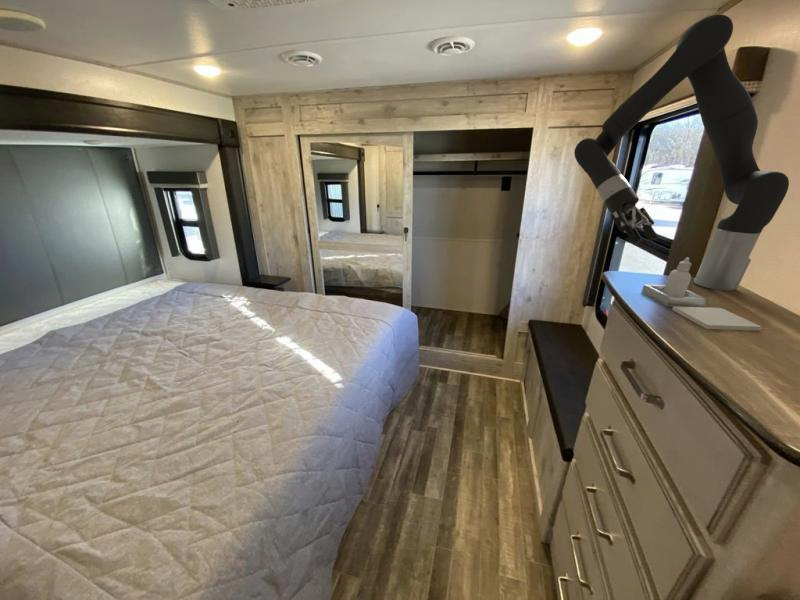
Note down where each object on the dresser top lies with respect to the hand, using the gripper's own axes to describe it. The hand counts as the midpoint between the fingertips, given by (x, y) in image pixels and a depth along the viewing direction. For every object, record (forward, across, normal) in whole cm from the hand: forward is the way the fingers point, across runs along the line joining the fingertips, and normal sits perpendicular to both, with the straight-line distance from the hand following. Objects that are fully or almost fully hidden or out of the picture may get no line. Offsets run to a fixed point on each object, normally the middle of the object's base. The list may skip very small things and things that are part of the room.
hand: (646, 240), depth 89 cm
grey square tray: (+18, 0, +3) cm, 18 cm away
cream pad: (+25, -5, -5) cm, 26 cm away
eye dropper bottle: (+18, 0, +3) cm, 18 cm away
